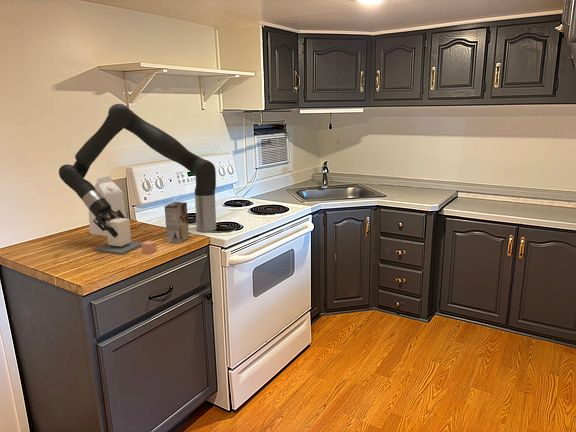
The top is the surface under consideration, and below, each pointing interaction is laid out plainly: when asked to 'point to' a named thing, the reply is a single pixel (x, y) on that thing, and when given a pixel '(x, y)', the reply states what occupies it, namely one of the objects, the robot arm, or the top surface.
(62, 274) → the top surface
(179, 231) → the coffee box
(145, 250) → the block
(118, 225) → the white rectangular block
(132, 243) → the mat
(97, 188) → the milk
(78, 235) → the top surface
